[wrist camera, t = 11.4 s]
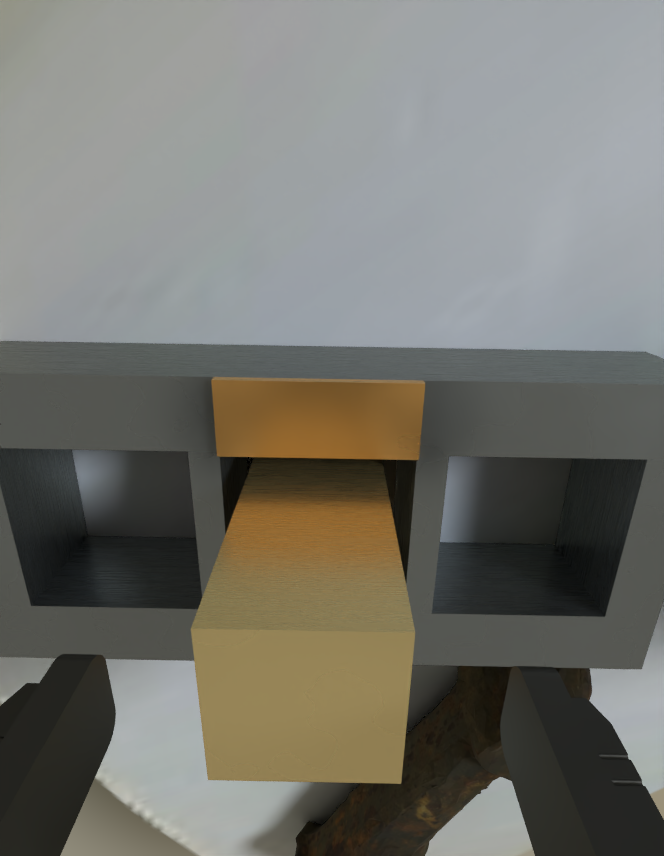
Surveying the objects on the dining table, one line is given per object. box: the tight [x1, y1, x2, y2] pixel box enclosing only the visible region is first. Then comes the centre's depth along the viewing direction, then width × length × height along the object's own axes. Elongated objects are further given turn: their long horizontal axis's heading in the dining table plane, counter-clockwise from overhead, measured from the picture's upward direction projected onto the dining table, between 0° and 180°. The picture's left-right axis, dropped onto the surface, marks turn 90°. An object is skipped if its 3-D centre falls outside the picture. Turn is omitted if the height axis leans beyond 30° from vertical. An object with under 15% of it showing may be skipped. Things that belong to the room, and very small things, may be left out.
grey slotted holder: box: [0, 341, 664, 669], centre depth 17 cm, size 10×22×4 cm, turn 89°
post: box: [191, 457, 415, 784], centre depth 14 cm, size 4×4×10 cm
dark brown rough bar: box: [295, 666, 592, 856], centre depth 22 cm, size 19×4×5 cm, turn 147°
